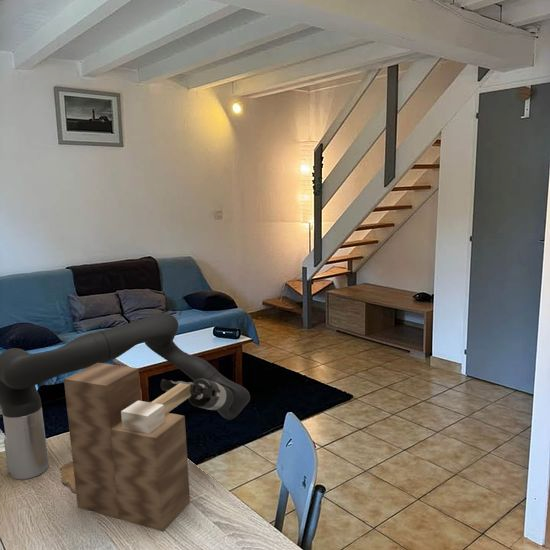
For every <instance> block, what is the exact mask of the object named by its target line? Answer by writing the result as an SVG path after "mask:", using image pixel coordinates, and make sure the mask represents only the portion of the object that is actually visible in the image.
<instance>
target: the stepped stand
mask: <svg viewBox="0 0 550 550" xmlns="http://www.w3.org/2000/svg"><path fill="white" fill-rule="evenodd" d="M63 384H64V391H65V392H64V393H65V403H66V411H67V420H68V429H69V430H68V431H69V432H68V433H69V440H70V450H71V458H72V461H73V468H74V478H75V487H76V503H77V508H78V509H82V510H86V511H90V512H94V513H97V514H99V515H104V516H107V517H111V518H114V519H118V520H121V521H125V522H128V523H132V524H136V525H139V526H142V527H145V528H149V529H153V530H156V531H160V532H164V531H165V530H166V529H168V527H169V526H170V525H171V523H173V522H174V520H176V519H177V517H178V516H179V515H180V514H181V513H182V512H183V511H184V510H185V509H186V508H187V506H189V504H190V503H191V495H190V494H191V493H190V479H189V477H190V476H189V464H188V447H187V432H186V429H187V428H186V417H185V415H183V414H182V415H181V414H177V413H170V412H168V413H167V414H166V415H165V422H164V423H163V424H161V425H160V426H159V427H157V428H156V429H155V430H153V431H152V432H151V433H149V434H148V433H143V432H138V431H133V430H128V429H123V428H122V418H121V411H122V410H124V409H126V408H127V407H129V406H130V405H132V404H133V403H135V402H137V401H138V400H139V401H142V395H141V384H140V369H139V368H138V367H131V366H124V365H118V364H110V363H96V364H94V365H92V366H90V367H88V368H84V369H81V370H78V371H76V372H75V373H73V374H71V375H69V376H66V377H65V378H63Z"/></svg>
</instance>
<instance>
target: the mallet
mask: <svg viewBox="0 0 550 550" xmlns="http://www.w3.org/2000/svg"><path fill="white" fill-rule="evenodd" d="M190 396H191V393H190V384H183V383H179V384H178V385H176V386H175V387H173V388H172V389H170V390H169V391H165V393H163V394H161V395H159V396H158V397H157V398H155V399H154V400H152V401H145V400H144V401H143V400H141V401H139V400H138V401H137V402H135V403H133V404H132V405H130V406H129V407H127V408H126V409H124V410H122V411H121V418H122V428H123V429H128V430H133V431H138V432H143V433H148V434H149V433H151V432H152V431H153V430H155V429H156V428H157V427H159V426H160V425H161V424H163V423H164V422H165V415H166V414H167V413H170V412H171V411H172V410H174V409H175V408H177V407H178V406H179V405H181V404H182V403H184V402H185V401H187V400H188V398H189V397H190Z"/></svg>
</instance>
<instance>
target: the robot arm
mask: <svg viewBox="0 0 550 550" xmlns="http://www.w3.org/2000/svg"><path fill="white" fill-rule="evenodd" d="M178 330H179V322H178V319H177V317H175V316H174V315H172V314H169V313H167V312H166V313H165V312H161V313H160V312H159V313H154V314H151V315H148V316H146V317H144V318H143V317H142V318H141V319H138V320H135V321H132V322H129V323H125V324H121V325H118V326H114V327H111V328H107V329H101V330H96V331H94V332H92V331H91V332H90V333H85V334H81V335H80V336H78V337H76V338H74V339H72V340H71V341H69V342H67V343H65V344H64V345H62V346H60V347H58V348H55V349H51V350H46V351H41V352H35V353H29V352H28V351H26V350H24V349H22V348H15V347H12V348H8V349H6V350H4V351H2V352H1V353H0V407H1V411H2V418H3V419H2V420H3V425H4V434H5V435H4V436H5V438H4V440H3V443H4V445H3V446H4V451H5V452H4V453H5V460H6V467H7V473H8V474H10V476H11V478H13V479H15V480H28V479H33V478H35V477H39V475H40V476H41V475H42V474H43V473H45V472H46V471H47V470H48V468H49V456H48V448H47V447H48V446H47V440H46V432H45V423H44V415H43V407H42V400H41V396H40V394H39V392H38V390H37V387H36V386H37V385H40V384H41V383H44V382H46V381H49V380H51V379H54V378H57V377H59V376H62V375H66V374H68V373H69V374H70V373H73V372H78V371H81V370H83V369H86V368H88V367H90V366H92V365H94V364H96V363H105V364H107V363H109V362H111V361H113V360H115V359H117V358H119V357H120V356H122V355H123V354H126V352H128V351H129V350H131V349H132V348H134V347H135V346H137V345H139V344H141V343H143V342H144V344H145V346H146V347H147V348H148V349H150V351H152V352H154V353H155V354H157V355H158V356H159V357H161V358H163V359H164V360H165V361H167V362H168V363H170V364H171V365H173V366H174V367H175V368H177V369H178V370H180V371H182V372H183V373H184V374H185V375H186V376H187V377H189V379H191V380H192V381H187V382H186V381H183V380H177V381H173V380H167V379H165V378H162V379H161V381H160V384H159V385H160V386H159V387H160V389H161V390H162V391H163V392H164V391H165V392H167V391H169V390H170V389H172V388H173V387H175V386H176V385H178V384H179V383H183V384H190V393H191V396H190V397H189V398H187V400H188V401H189V403H190V404H191V405H192V406H193V407H197V408H200V409H205V410H210V411H216V412H218V414H219V415H220V416H221V417H222V418H224V419H225V420H228V421H231V420H233V419H235V418H236V417H238V416H239V414H240V413H241V412H242V411H243V409H244V408H245V407H246V406H247V405H248V404H249V402H251V401H250V400H251V395H250V392H249V390H248V389H247V388H245V387H244V386H242V385H241V384H239V383H236V382H234V381H232V380H230V379H228V378H227V377H226V376H224V375H223V374H222V373H220V372H219V371H218V370H217V369H216V368H215V367H214V366H213V365H212V364H211V363H210V362H208V361H207V360H206V359H203V358H201V357H198V356H195V355H192V354H189V353H187V352H185V351H183V350H182V349H181V348H180V347H178V345H177V344H176V343H175V342H174V339H175V337H176V335H177V332H178Z"/></svg>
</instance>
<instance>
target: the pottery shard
mask: <svg viewBox="0 0 550 550" xmlns="http://www.w3.org/2000/svg"><path fill="white" fill-rule="evenodd" d="M60 471H61V472H60V476H61V478H60V479H61V483H62V484H64V485H66V487H68V488H69V490H70V491H71V493H73V494H74V495H75V494H76V487H75V478H74V468H73V460H70V461H68V462H66V463H63V464H62V465H61V466H60Z"/></svg>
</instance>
